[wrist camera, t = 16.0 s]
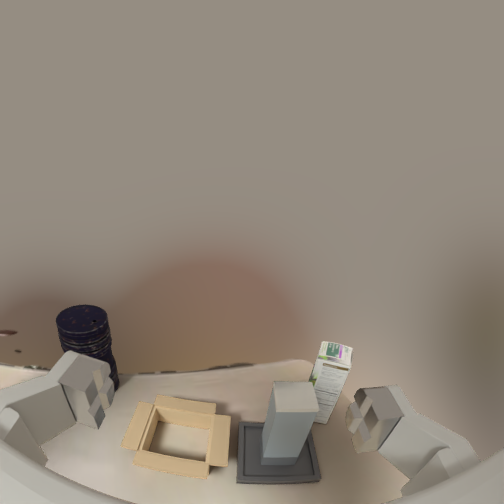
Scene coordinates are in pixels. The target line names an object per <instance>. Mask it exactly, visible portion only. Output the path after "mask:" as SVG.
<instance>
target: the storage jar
mask: <svg viewBox="0 0 504 504" xmlns="http://www.w3.org/2000/svg"><path fill="white" fill-rule="evenodd" d="M56 324H57V328H58V332H59V333H58V334H59V339H60V342H61V347H62V349H63V351H64V352H65V353H66V352H67V351H70V350H71V351H73V352H76V353H79V354H83V355H86V356H89V357H92V358H95V359H98V360H101V361H104V362H107V363H108V364H109V366H110V370H111V373H110V374H109V377H110V379H111V380H112V381H113V384H114V393H115V392H116V390H117V389H118V386H119V379H118V375H117V367H116V362H115V359H114V357H113V355H112V350H111V341H112V339H111V334H110V328H109V325H108V317H107V313H106V312H105V311H104V310H103V309H101V308H100V307H97V306H93V305H76V306H72V307H69V308H66V309H64V310H63V311H61V312H60V313H59V314H58V316H57V318H56Z"/></svg>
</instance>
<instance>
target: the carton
mask: <svg viewBox="0 0 504 504" xmlns="http://www.w3.org/2000/svg"><path fill="white" fill-rule="evenodd" d="M215 411H216V404H215V403H207V402H199V401H192V400H186V399H180V398H174V397H169V396H163V395H158V394H157V397H156V399H155V402H154V404H150V403H146V402H141V401H139V403H138V405H137V408H136V410H135V412H134V415H133V417H132V419H131V422H130V424H129V426H128V429H127V431H126V434H125V436H124V439H123V441H122V443H121V447H124V448H127V449H131V450H134V451H137V452H136V455H135V457H134V460H133V465H137V466H141V467H145V468H149V469H153V470H157V471H162V472H166V473H171V474H176V475H182V476H188V477H194V478H201V479H207V475H209V469H210V465H212V466H222V467H227V466H228V451H229V436H230V421H231V416H226V415H217V414H215ZM158 421H162V422H167V423H172V424H177V425H183V426H189V427H196V428H203V429H210V431H209V439H208V446H207V453H206V461H205V462H202V461H195V460H189V459H183V458H177V457H172V456H167V455H162V454H158V453H153V452H149V448H150V445H151V442H152V439H153V436H154V432H155V429H156V426H157V423H158Z"/></svg>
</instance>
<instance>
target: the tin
mask: <svg viewBox="0 0 504 504" xmlns="http://www.w3.org/2000/svg"><path fill="white" fill-rule="evenodd" d="M318 411H319V405H318V402H317V398H316V394H315V391H314V387H313V383H312V382H289V381H274V383H273V389H272V394H271V398H270V402H269V407H268V411H267V415H266V419H265V424H264V428H263V432H262V434H261V438H260V456H261V465H295V463H296V461H297V459H298V456H299V453H300V451H301V449H302V447H303V445H304V443H305V440H306V438H307V436H308V434H309V431H310V429H311V427H312V424H313V422H314V419H315V417H316V414H317V412H318Z"/></svg>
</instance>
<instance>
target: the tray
mask: <svg viewBox="0 0 504 504" xmlns="http://www.w3.org/2000/svg"><path fill="white" fill-rule="evenodd" d="M264 424H265V423H249V422H239V430H238V457H237V483H242V484H296V483H311V482H319V481H320V479H321V476H320V471H319V466H318V461H317V456H316V452H315V447H314V442H313V438H312V433H311V429H310V431H309V434H308V436H307V438H306V440H305V443H304V445H303V447H302V449H301V451H300V453H299V456H298V459H297V461H296V463H295V465H261V456H260V438H261V434H262V432H263V428H264Z"/></svg>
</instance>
